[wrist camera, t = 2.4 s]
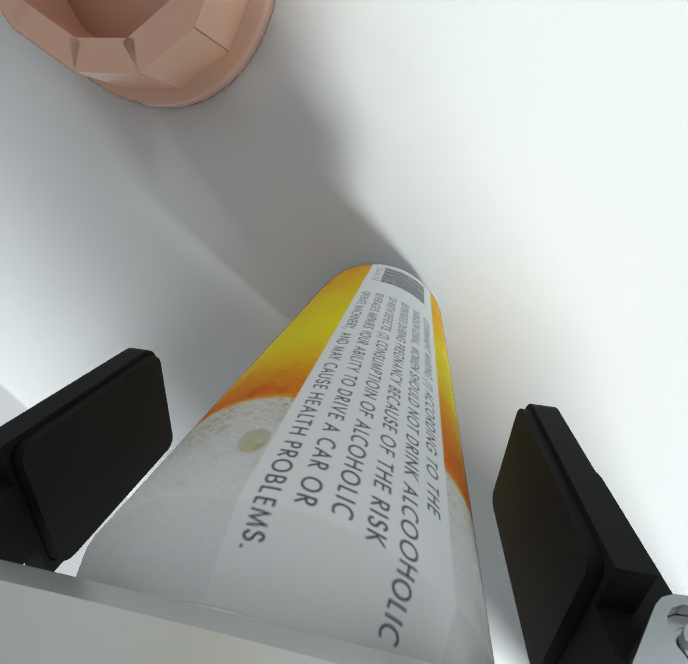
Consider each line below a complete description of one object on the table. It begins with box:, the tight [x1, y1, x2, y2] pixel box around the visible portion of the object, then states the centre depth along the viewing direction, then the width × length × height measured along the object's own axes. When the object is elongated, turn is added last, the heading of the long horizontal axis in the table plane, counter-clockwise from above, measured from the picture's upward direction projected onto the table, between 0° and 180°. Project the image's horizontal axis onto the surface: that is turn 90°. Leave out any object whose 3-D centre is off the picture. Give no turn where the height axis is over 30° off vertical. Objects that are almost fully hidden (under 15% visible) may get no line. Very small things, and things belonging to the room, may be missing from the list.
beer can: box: [76, 264, 494, 664], centre depth 11 cm, size 6×6×15 cm
